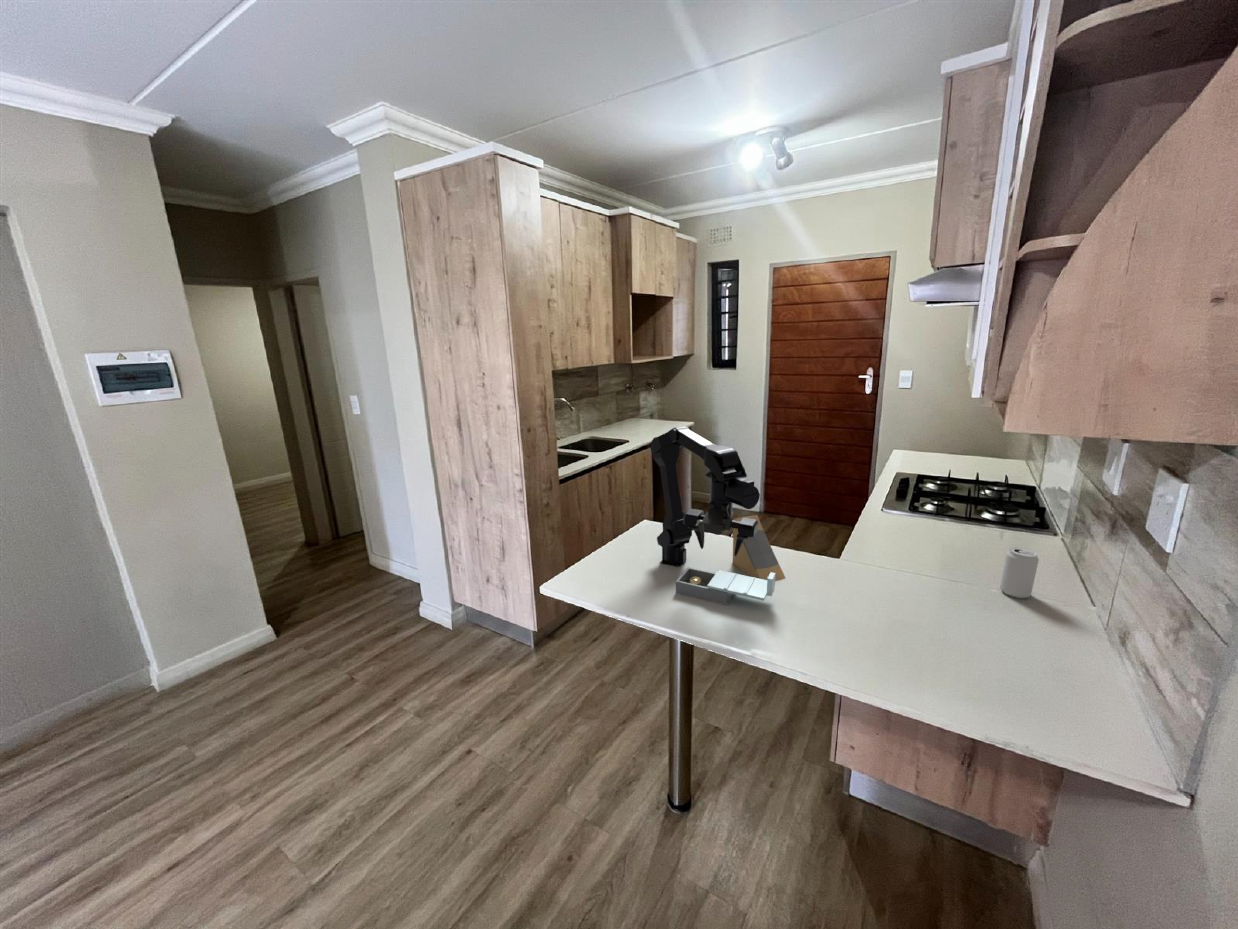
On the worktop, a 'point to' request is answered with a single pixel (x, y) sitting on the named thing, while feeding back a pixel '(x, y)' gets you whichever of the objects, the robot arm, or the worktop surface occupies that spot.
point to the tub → (701, 587)
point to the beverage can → (1019, 572)
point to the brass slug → (695, 580)
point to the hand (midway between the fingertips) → (718, 551)
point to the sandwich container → (756, 555)
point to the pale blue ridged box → (743, 585)
